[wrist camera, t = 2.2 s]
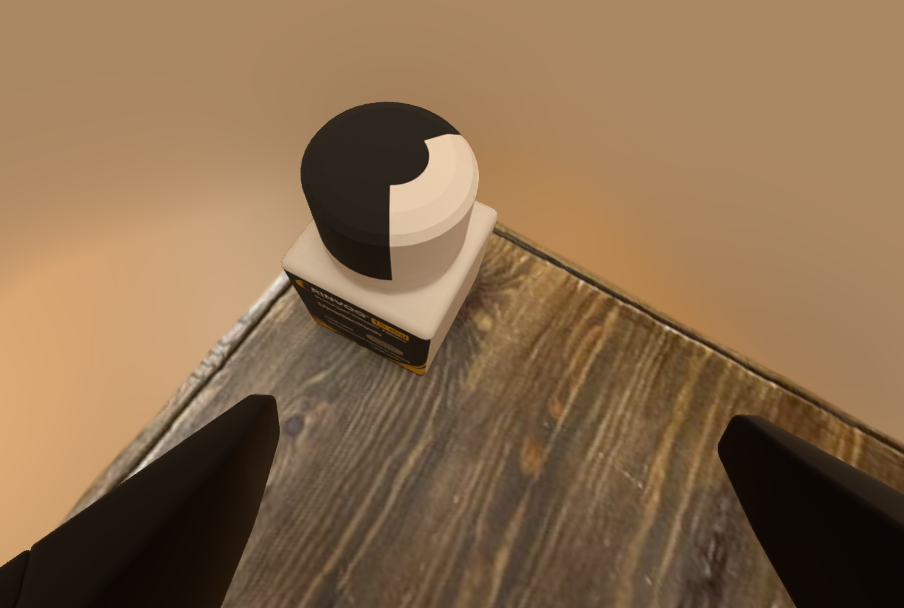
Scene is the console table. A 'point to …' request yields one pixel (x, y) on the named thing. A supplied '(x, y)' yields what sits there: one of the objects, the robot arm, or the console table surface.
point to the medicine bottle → (389, 229)
